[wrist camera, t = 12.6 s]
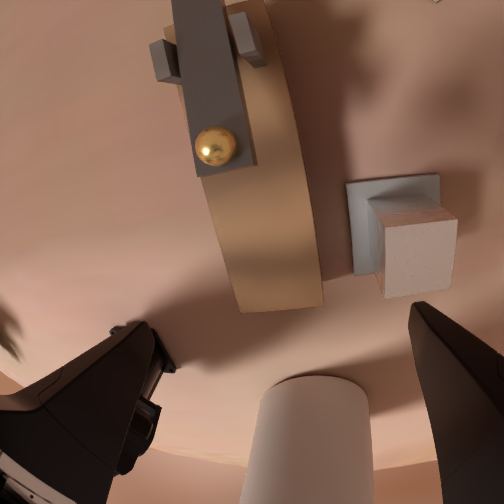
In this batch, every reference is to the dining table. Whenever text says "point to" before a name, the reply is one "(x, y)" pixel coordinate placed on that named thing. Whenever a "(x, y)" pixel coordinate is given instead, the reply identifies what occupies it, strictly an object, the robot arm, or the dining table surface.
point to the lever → (212, 88)
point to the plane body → (260, 177)
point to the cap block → (411, 244)
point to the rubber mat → (380, 189)
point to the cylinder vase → (311, 445)
